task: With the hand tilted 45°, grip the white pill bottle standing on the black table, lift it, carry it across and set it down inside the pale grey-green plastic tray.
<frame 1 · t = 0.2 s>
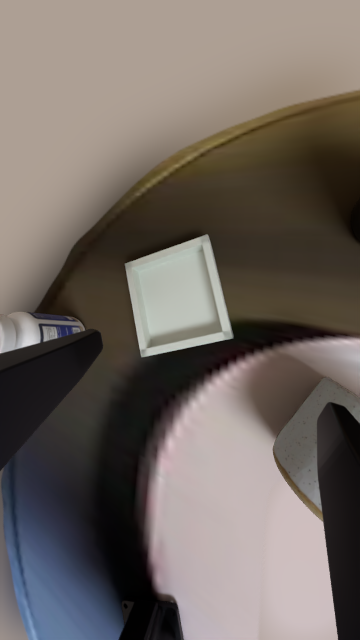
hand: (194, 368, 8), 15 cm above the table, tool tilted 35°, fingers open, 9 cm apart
ceramic mug: (340, 436, 19), on the table
pill bottle: (72, 337, 29), on the table
tray: (179, 300, 24), on the table
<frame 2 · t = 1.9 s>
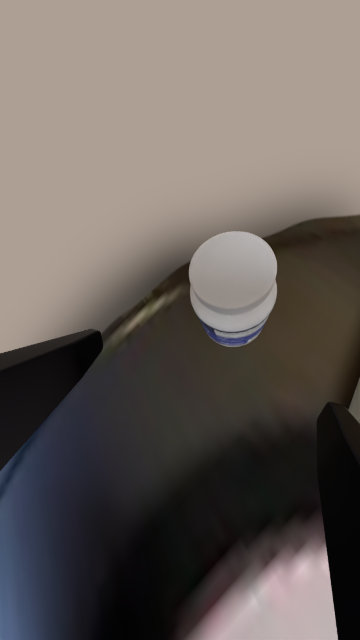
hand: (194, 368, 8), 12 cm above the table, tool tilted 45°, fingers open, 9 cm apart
pill bottle: (232, 319, 21), on the table
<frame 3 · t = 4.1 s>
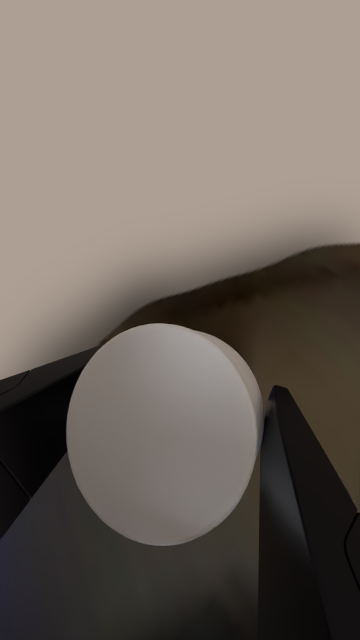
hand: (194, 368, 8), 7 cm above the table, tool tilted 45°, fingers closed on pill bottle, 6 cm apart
pill bottle: (206, 394, 14), on the table, touching gripper
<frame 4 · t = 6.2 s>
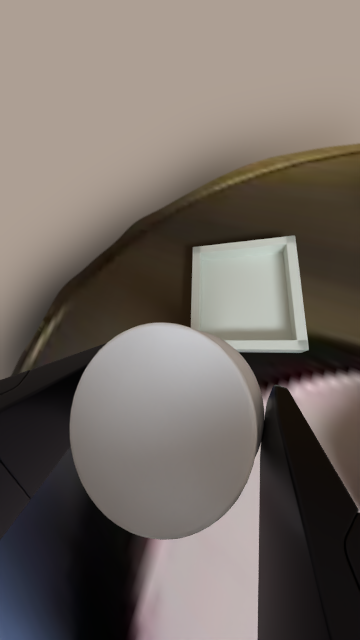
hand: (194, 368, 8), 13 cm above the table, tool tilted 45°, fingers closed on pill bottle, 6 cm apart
pill bottle: (206, 393, 14), point 6 cm above the table, touching gripper
tray: (242, 299, 22), on the table
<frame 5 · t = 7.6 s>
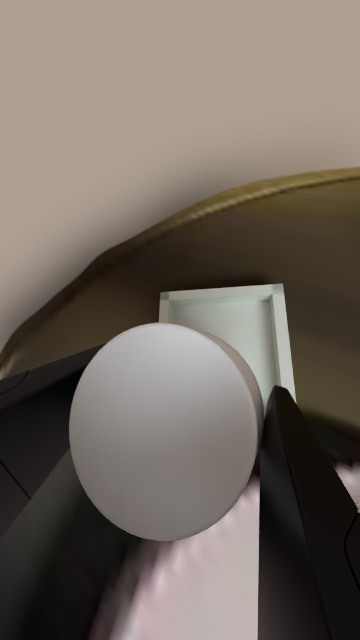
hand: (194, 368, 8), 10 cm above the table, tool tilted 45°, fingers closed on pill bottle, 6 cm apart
pill bottle: (206, 393, 14), point 3 cm above the table, touching gripper
tray: (220, 357, 18), on the table
when the fingers open (8 cm above the table, at t = 8.7 s): pill bottle drops 1 cm, resting on tray.
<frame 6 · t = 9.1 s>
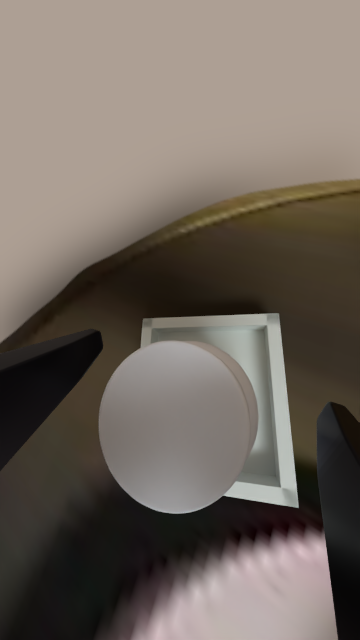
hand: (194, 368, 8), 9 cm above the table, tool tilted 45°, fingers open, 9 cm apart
pill bottle: (207, 395, 15), resting on tray
tray: (208, 393, 16), on the table
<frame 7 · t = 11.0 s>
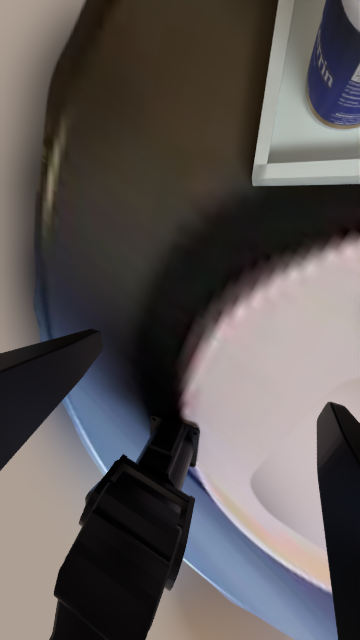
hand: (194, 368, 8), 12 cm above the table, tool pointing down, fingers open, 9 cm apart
pill bottle: (359, 74, 12), resting on tray
tray: (359, 74, 12), on the table
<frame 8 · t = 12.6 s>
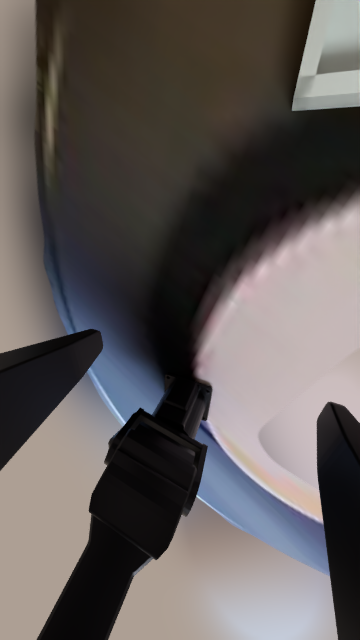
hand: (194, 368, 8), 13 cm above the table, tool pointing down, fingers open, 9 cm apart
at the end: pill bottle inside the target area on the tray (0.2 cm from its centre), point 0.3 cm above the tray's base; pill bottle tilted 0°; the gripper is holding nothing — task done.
